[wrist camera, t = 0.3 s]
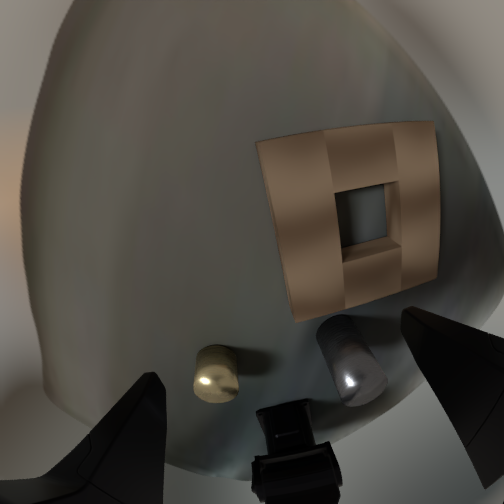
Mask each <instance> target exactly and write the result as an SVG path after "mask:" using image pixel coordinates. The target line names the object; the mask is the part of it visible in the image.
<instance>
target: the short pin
mask: <svg viewBox="0 0 504 504" xmlns="http://www.w3.org/2000/svg"><path fill="white" fill-rule="evenodd" d="M194 392H195V394H196V395H197V396H198V397H199V398H200V399H202V400H204V401H207V402H211V403H223V402H227V401H230V400H232V399H234V398H235V397H236V396H237V394H238V392H239V387H238V371H237V358H236V355H235V353H234V352H233V351H232V350H230V349H229V348H227V347H224V346H219V345H212V346H207V347H205V348H203V349H201V350H200V351H199V352H198V354H197V357H196V366H195V377H194Z"/></svg>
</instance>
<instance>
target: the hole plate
mask: <svg viewBox="0 0 504 504" xmlns="http://www.w3.org/2000/svg"><path fill="white" fill-rule="evenodd" d="M255 144H256V148H257V152H258V157H259V161H260V166H261V170H262V174H263V179H264V183H265V188H266V192H267V197H268V202H269V206H270V211H271V216H272V220H273V225H274V230H275V235H276V239H277V244H278V249H279V254H280V259H281V264H282V269H283V274H284V279H285V284H286V289H287V295H288V300H289V305H290V308H291V311H292V314H293V317H294V320H295V323H298V322H301V321H305V320H309V319H313V318H316V317H320V316H323V315H327V314H331V313H334V312H337V311H341V310H344V309H348V308H351V307H354V306H357V305H361V304H364V303H367V302H370V301H373V300H376V299H379V298H382V297H385V296H388V295H391V294H394V293H397V292H400V291H403V290H406V289H409V288H411V287H414V286H417V285H420V284H422V283H425V282H428V281H430V280H433V279H436V278H437V270H438V259H439V243H440V179H439V163H438V152H437V142H436V134H435V127H434V121H404V122H389V123H377V124H366V125H357V126H348V127H340V128H332V129H325V130H318V131H312V132H306V133H300V134H294V135H288V136H283V137H278V138H273V139H268V140H263V141H258V142H255ZM383 183H384V193H385V205H386V221H387V236H386V237H383V238H379V239H375V240H371V241H367V242H364V243H360V244H356V245H352V246H348V247H344V248H341V244H340V235H339V227H338V218H337V211H336V203H335V196H334V193H337V192H341V191H346V190H351V189H356V188H362V187H367V186H372V185H377V184H383Z"/></svg>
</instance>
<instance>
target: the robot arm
mask: <svg viewBox="0 0 504 504" xmlns="http://www.w3.org/2000/svg"><path fill="white" fill-rule="evenodd" d="M401 332H402V335H403V337H404V339H405V341H406V343H407V345H408V347H409V349H410V351H411V353H412V355H413V357H414V359H415V361H416V363H417V365H418V367H419V368H420V370H421V372H422V373H423V375H424V376H425V378H426V380H427V381H428V383H429V385H430V386H431V388H432V390H433V391H434V393H435V395H436V396H437V398H438V400H439V402H440V403H441V405H442V407H443V408H444V410H445V412H446V414H447V415H448V417H449V419H450V421H451V422H452V424H453V426H454V428H455V430H456V432H457V434H458V435H459V438H460V440H461V441H462V443H463V445H464V447H465V449H466V451H467V454H468V456H469V458H470V459H471V461H472V463H473V466H474V468H475V470H476V472H477V474H478V476H479V479H480V481H481V483H482V485H483V487H484V489H487V488H488V487H489V486H491V485H492V484H493V483H495V482H496V481H497V480H498V479H499V478H501V477H502V476H503V475H504V338H501V337H498V336H495V335H493V334H488V333H487V332H484V331H481V330H479V329H476V328H473V327H470V326H467V325H464V324H462V323H459V322H456V321H453V320H450V319H448V318H445V317H442V316H439V315H436V314H434V313H431V312H428V311H425V310H422V309H420V308H417V307H414V306H410V307H408V308H405V309H403V310H402V314H401ZM256 416H257V418H258V421H259V423H260V425H261V428H262V430H263V432H264V434H265V438H266V445H267V452H268V455H263V456H259V455H258V456H255V461H253V462H252V463H251V464H252V486H251V489H252V492H253V493H255V494H257V497H258V498H259V501H260V502H261V503H262V502H265V504H338V502H339V499H340V491H339V487H340V486H342V475H341V471H340V467H339V464H338V462H337V459H336V457H335V454H334V452H333V449H332V447H331V444H330V442H329V441H327V442H325V443H322V444H318V445H316V443H315V440H314V436H313V432H312V429H311V426H312V419H311V412H310V405H309V401H308V400H301V401H297V402H293V403H289V404H285V405H281V406H276V407H271V408H267V409H262V410H257V411H256ZM166 433H167V413H166V389H165V387H164V385H163V383H162V382H161V380H160V378H159V377H158V375H157V374H156V373H155V372H147V373H144V374H143V375H142V376H141V377H140V378H139V379H138V380H137V381H136V382H135V383H134V384H133V386H132V387H131V388H130V389H129V390H128V391H127V392H126V393H125V394H124V395H123V396H122V398H121V399H120V400H119V401H118V402H117V403H116V404H115V405H114V406H113V407H112V408H111V410H110V411H109V412H108V413H107V414H106V415H105V416H104V417H103V418H102V419H101V420H100V421H99V423H98V424H97V425H96V426H95V427H94V428H93V429H92V430H91V431H90V433H89V434H87V436H86V437H85V438H84V439H83V440H82V441H81V442H80V443H79V444H78V445H77V446H76V447H75V448H74V449H73V450H72V451H71V452H70V453H69V454H68V455H67V456H65V457H64V458H63V459H62V460H61V461H60V462H59V463H58V464H56V465H55V466H54V467H53V468H52V469H51V470H50V471H48V472H47V473H46V474H44V475H42V476H40V477H37V478H30V479H18V480H0V504H163V484H164V463H165V447H166ZM503 504H504V502H503Z"/></svg>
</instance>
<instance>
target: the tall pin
mask: <svg viewBox="0 0 504 504" xmlns="http://www.w3.org/2000/svg"><path fill="white" fill-rule="evenodd" d="M316 339H317V341H318V344H319V346H320V349H321V351H322V354H323V356H324V358H325V361H326V363H327V366H328V368H329V371H330V373H331V376H332V378H333V381H334V383H335V386H336V388H337V391H338V393H339V396H340V398H341V401H342V403H343V404H344V405H346V406H350V407H355V406H360V405H364V404H366V403H368V402H370V401H372V400H374V399H375V398H376V397H378V396H379V395H380V394H381V393H382V392H383V391H384V389H385V388H386V386H387V383H388V380H387V377H386V375H385V374H384V372H383V370H382V369H381V367H380V365H379V363H378V362H377V360H376V358H375V357H374V355H373V353H372V352H371V350H370V348H369V347H368V345H367V343H366V342H365V340H364V339H363V337H362V335H361V334H360V332H359V330H358V329H357V327H356V326H355V324H354V322H353V321H352V319H351V318H349V317H347V316H343V315H339V316H334V317H331V318H329V319H327V320H326V321H325V322H323V323H322V324H321V325H320V327H319V328H318V330H317V333H316Z"/></svg>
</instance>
